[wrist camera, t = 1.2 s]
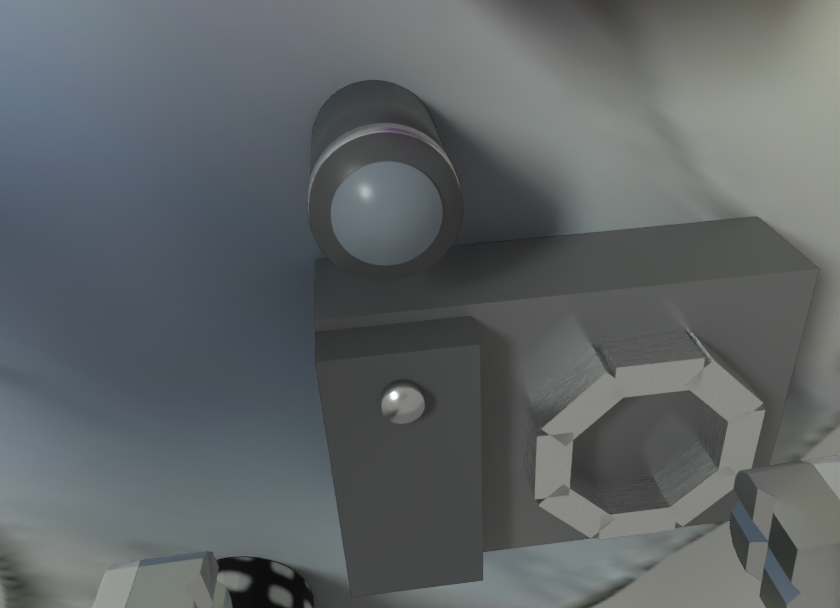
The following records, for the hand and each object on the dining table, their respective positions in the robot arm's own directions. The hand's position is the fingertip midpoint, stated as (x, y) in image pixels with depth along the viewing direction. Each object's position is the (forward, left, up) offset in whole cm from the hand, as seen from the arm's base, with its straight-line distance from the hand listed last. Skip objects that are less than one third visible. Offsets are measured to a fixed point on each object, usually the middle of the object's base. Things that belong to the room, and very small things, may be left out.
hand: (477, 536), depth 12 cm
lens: (0, -1, -21) cm, 21 cm away
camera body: (+7, -13, -21) cm, 26 cm away
